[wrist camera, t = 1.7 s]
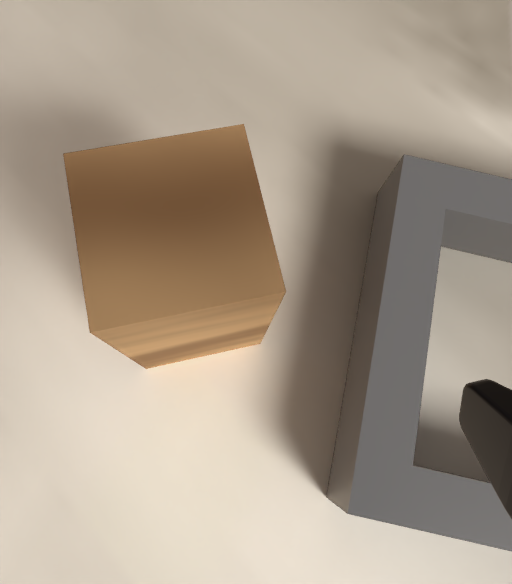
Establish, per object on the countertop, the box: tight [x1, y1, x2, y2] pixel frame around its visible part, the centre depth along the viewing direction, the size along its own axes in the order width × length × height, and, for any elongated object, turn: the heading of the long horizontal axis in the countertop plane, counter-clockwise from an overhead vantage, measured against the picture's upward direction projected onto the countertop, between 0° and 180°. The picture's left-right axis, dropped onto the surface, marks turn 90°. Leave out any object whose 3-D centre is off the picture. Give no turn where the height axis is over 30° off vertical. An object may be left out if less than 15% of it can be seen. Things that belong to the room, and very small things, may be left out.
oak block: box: [63, 124, 286, 369], centre depth 17 cm, size 5×5×9 cm
